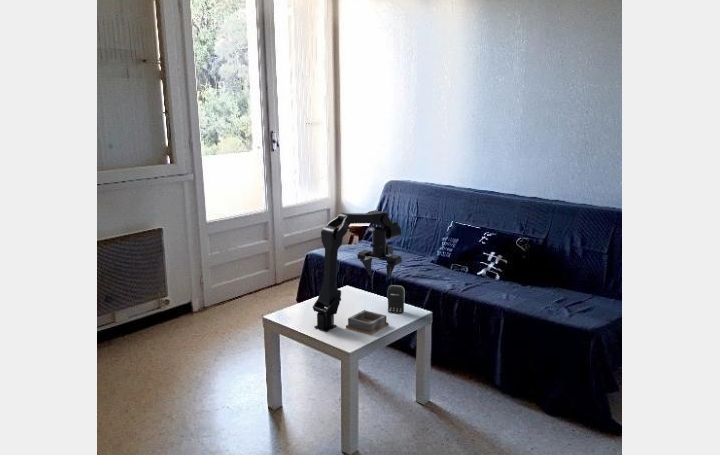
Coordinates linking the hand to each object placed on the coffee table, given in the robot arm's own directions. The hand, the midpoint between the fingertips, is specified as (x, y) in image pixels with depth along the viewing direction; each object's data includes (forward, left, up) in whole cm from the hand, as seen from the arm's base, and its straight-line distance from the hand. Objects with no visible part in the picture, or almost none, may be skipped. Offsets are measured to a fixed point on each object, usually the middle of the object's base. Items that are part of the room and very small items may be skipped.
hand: (379, 277), depth 243 cm
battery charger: (0, -8, -14) cm, 16 cm away
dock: (-19, -7, -14) cm, 25 cm away
